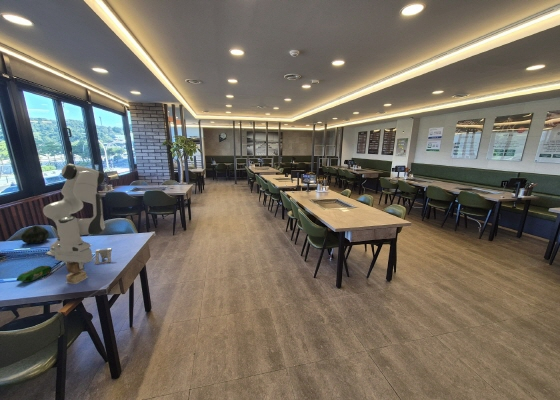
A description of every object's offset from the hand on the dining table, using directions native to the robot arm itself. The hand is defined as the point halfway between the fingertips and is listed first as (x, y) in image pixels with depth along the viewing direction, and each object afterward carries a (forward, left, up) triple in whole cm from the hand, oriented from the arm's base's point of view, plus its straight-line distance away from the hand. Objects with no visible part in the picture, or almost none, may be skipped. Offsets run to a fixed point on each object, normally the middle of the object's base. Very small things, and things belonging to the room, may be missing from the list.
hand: (75, 268), depth 128 cm
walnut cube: (0, 0, -2) cm, 2 cm away
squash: (-86, +44, -8) cm, 97 cm away
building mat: (-2, +1, -8) cm, 8 cm away
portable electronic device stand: (-5, +23, -8) cm, 25 cm away
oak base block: (0, 0, -7) cm, 7 cm away
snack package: (-27, -1, -8) cm, 28 cm away
